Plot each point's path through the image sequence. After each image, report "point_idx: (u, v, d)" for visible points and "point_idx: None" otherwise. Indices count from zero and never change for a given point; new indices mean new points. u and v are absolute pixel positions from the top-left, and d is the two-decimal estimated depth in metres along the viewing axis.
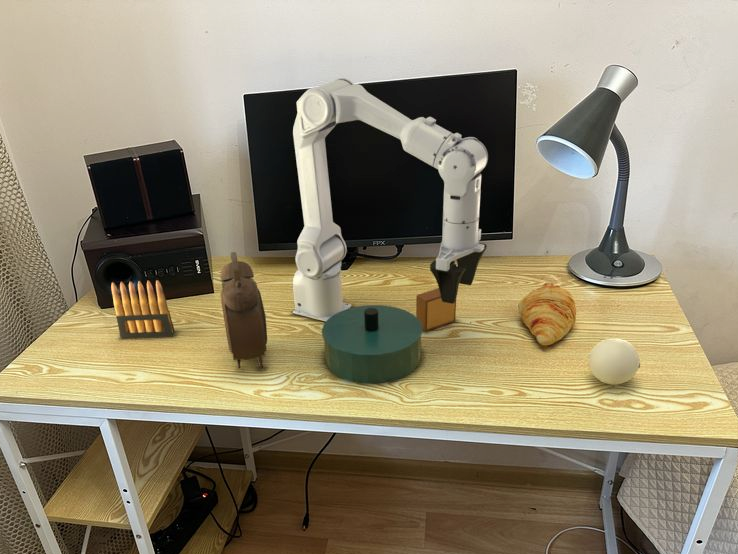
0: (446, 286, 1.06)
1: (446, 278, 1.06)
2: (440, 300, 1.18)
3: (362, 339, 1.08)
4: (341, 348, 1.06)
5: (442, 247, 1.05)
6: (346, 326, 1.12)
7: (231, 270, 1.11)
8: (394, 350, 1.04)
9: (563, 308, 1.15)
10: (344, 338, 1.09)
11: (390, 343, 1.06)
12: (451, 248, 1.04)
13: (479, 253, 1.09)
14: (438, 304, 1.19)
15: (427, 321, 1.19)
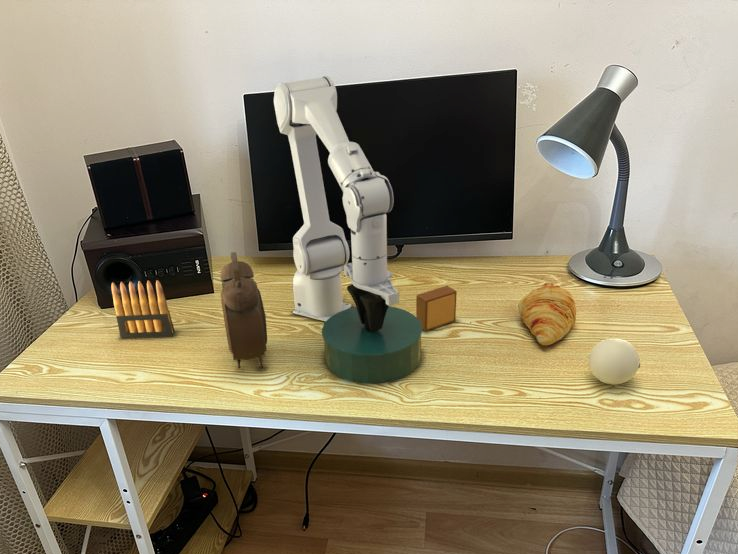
0: (376, 315, 1.08)
1: (375, 307, 1.07)
2: (440, 300, 1.18)
3: (362, 338, 1.08)
4: (341, 348, 1.06)
5: (368, 286, 1.03)
6: (346, 326, 1.12)
7: (231, 270, 1.11)
8: (394, 350, 1.04)
9: (563, 308, 1.15)
10: (344, 338, 1.09)
11: (390, 343, 1.06)
12: (378, 283, 1.04)
13: None
14: (438, 304, 1.19)
15: (427, 321, 1.19)
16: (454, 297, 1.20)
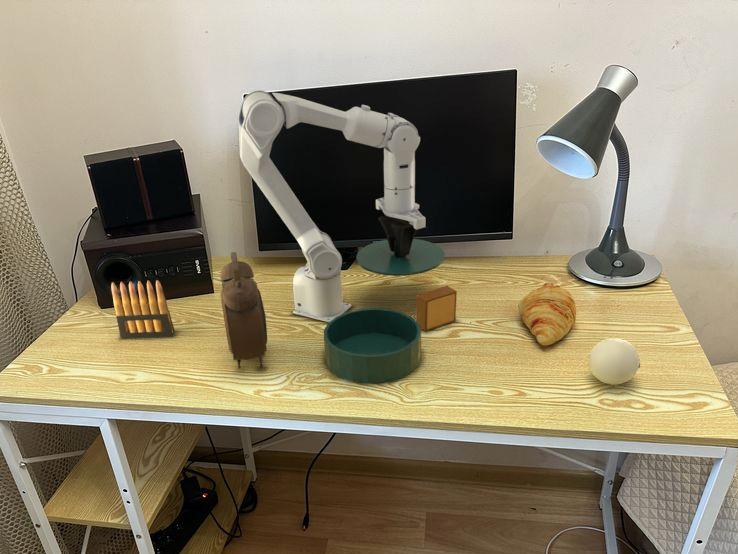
0: (404, 241, 1.23)
1: (403, 234, 1.23)
2: (440, 300, 1.18)
3: (392, 262, 1.24)
4: (374, 269, 1.22)
5: (398, 214, 1.19)
6: (378, 253, 1.28)
7: (231, 270, 1.11)
8: (421, 270, 1.20)
9: (563, 308, 1.15)
10: (376, 262, 1.25)
11: (417, 265, 1.22)
12: (406, 211, 1.19)
13: None
14: (438, 304, 1.19)
15: (427, 321, 1.19)
16: (454, 297, 1.20)
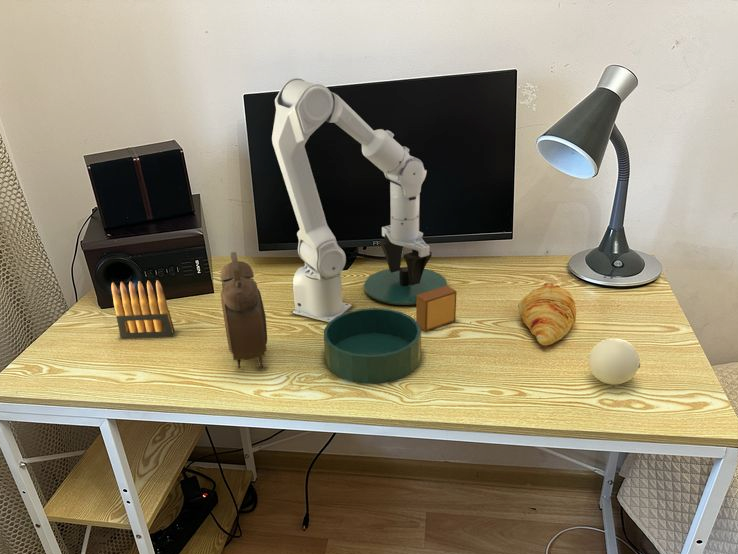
0: (415, 271, 1.30)
1: (415, 264, 1.29)
2: (440, 300, 1.18)
3: (398, 291, 1.33)
4: (381, 298, 1.31)
5: (403, 242, 1.27)
6: (384, 282, 1.37)
7: (231, 270, 1.11)
8: None
9: (563, 308, 1.15)
10: (383, 291, 1.33)
11: None
12: (411, 240, 1.28)
13: None
14: (438, 304, 1.19)
15: (427, 321, 1.19)
16: (454, 297, 1.20)
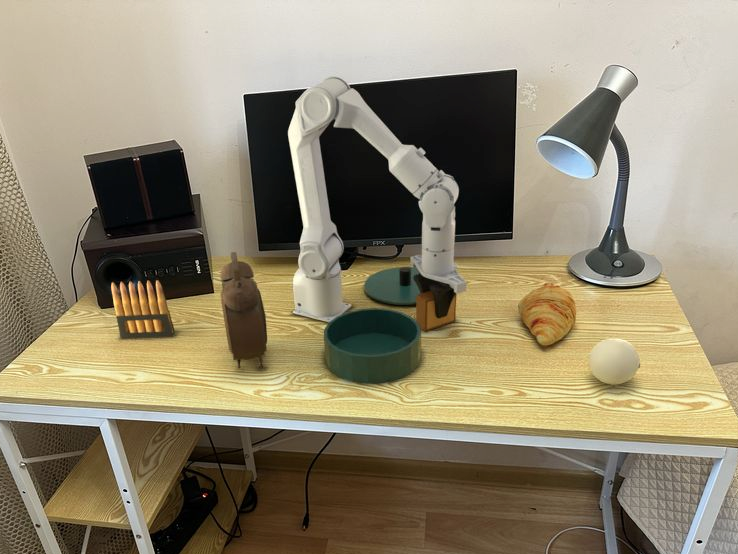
0: (442, 303, 1.18)
1: (442, 296, 1.17)
2: None
3: (398, 291, 1.33)
4: (381, 298, 1.31)
5: (436, 276, 1.14)
6: (384, 282, 1.37)
7: (231, 270, 1.11)
8: None
9: (563, 308, 1.15)
10: (383, 291, 1.33)
11: None
12: (445, 273, 1.14)
13: None
14: None
15: (427, 321, 1.19)
16: (454, 297, 1.20)
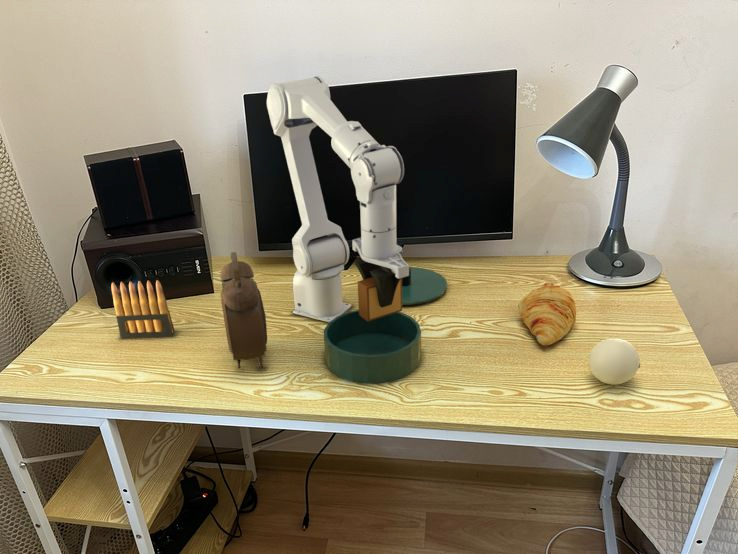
0: (386, 290, 1.06)
1: (385, 282, 1.06)
2: None
3: None
4: None
5: (377, 260, 1.02)
6: None
7: (231, 270, 1.11)
8: (425, 299, 1.29)
9: (563, 308, 1.15)
10: None
11: (421, 294, 1.31)
12: (387, 256, 1.03)
13: None
14: None
15: (370, 310, 1.08)
16: (399, 284, 1.08)
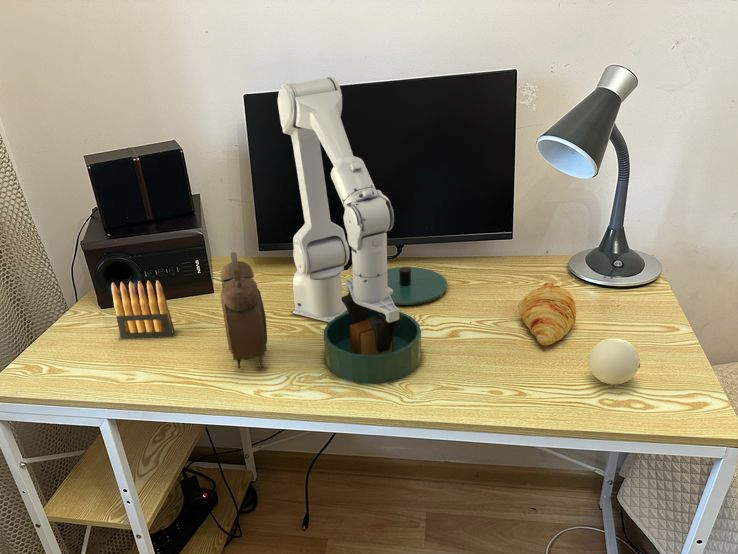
0: (383, 336, 1.07)
1: (383, 329, 1.07)
2: None
3: (398, 291, 1.33)
4: None
5: (368, 303, 1.05)
6: None
7: (231, 270, 1.11)
8: (425, 299, 1.29)
9: (563, 308, 1.15)
10: None
11: (421, 294, 1.31)
12: (378, 300, 1.05)
13: None
14: (373, 335, 1.10)
15: (362, 353, 1.11)
16: None
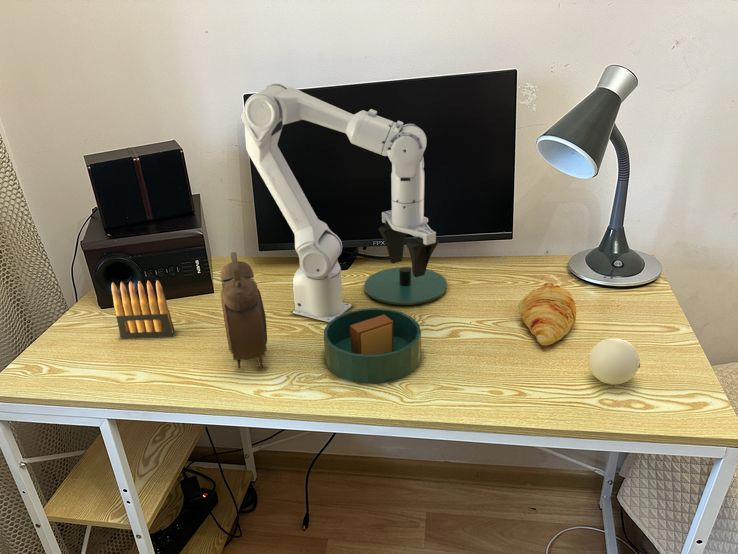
0: (419, 261, 1.15)
1: (419, 253, 1.14)
2: (375, 331, 1.10)
3: (398, 291, 1.33)
4: (381, 298, 1.31)
5: (406, 229, 1.13)
6: (384, 282, 1.37)
7: (231, 270, 1.11)
8: (425, 299, 1.29)
9: (563, 308, 1.15)
10: (383, 291, 1.33)
11: (421, 294, 1.31)
12: (415, 226, 1.13)
13: None
14: (373, 335, 1.10)
15: (362, 353, 1.11)
16: (391, 327, 1.11)
